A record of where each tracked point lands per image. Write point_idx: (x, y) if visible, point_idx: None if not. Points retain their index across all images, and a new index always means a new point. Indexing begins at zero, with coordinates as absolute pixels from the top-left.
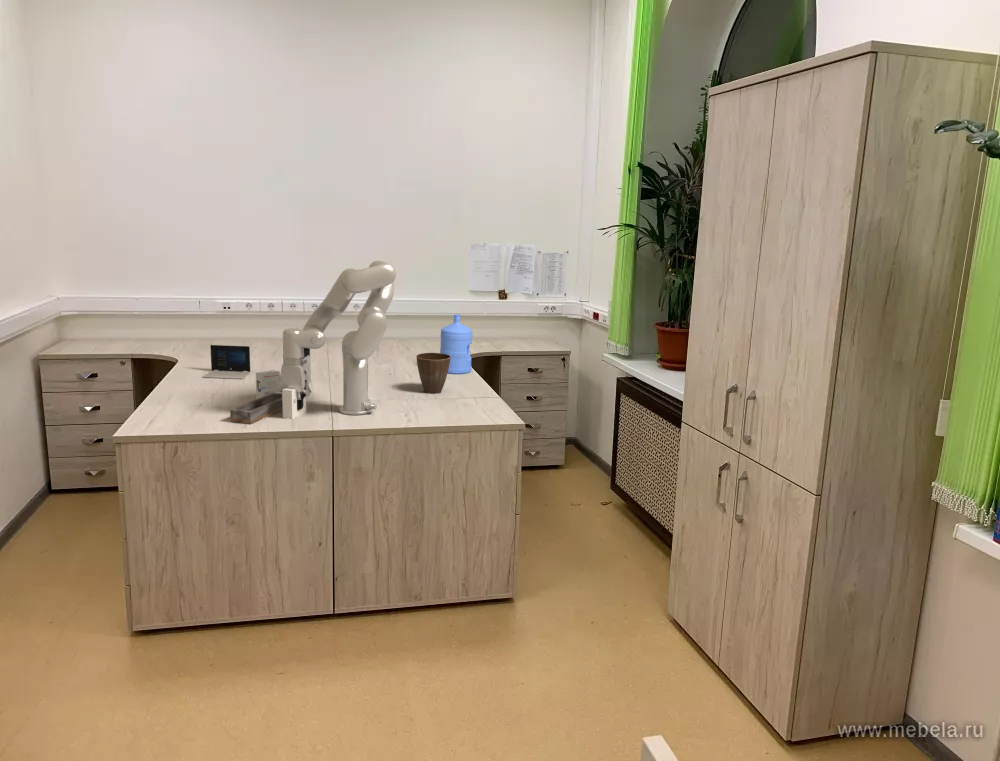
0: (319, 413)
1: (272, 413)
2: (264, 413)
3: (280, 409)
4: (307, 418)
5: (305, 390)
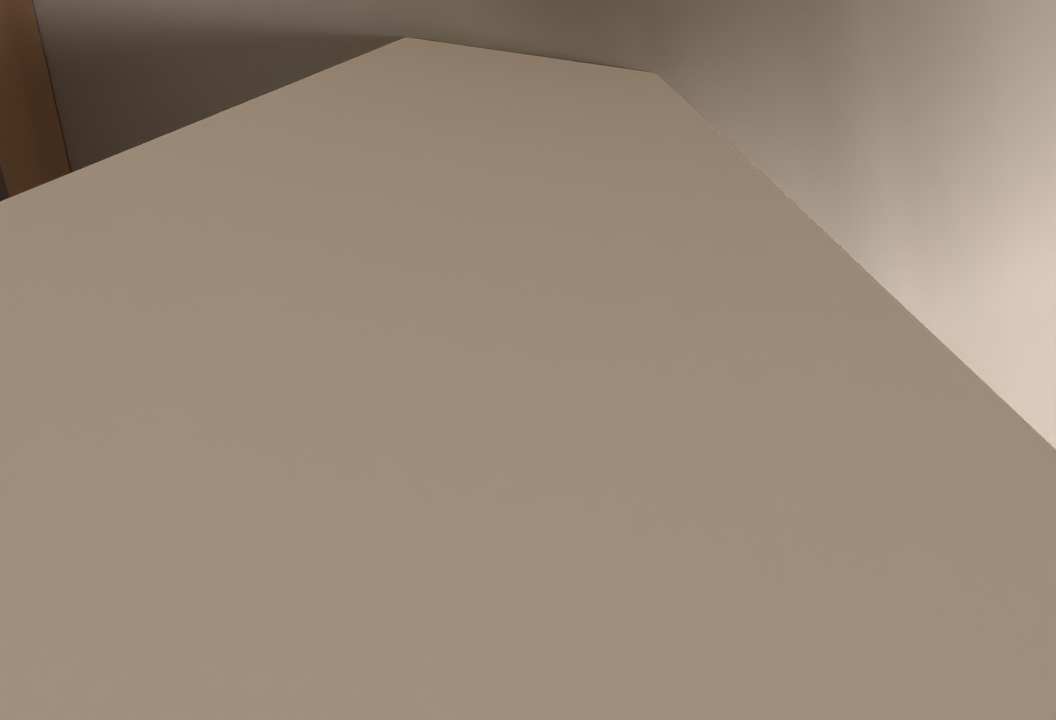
0: (999, 49)
1: None
2: None
3: (40, 152)
4: None
5: (910, 389)
